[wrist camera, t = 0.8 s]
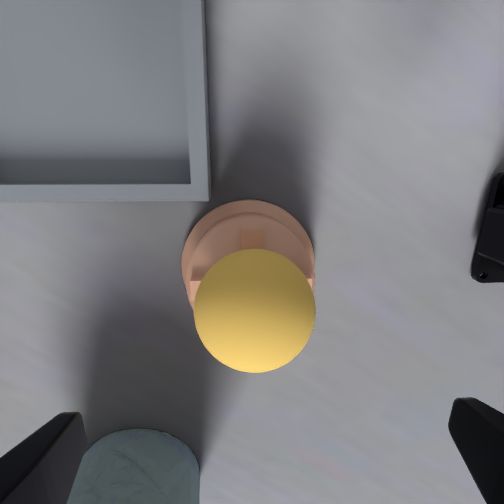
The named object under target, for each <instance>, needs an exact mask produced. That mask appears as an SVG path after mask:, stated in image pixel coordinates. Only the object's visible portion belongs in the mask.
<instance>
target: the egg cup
mask: <svg viewBox="0 0 504 504" xmlns="http://www.w3.org/2000/svg"><path fill="white" fill-rule="evenodd" d="M245 249H264V250H269V251H273V252H276V253H278V254H280V255H282V256H284V257H286V258H287V259H289V260H290V261H292V262H293V263H294V264H295V265H296V266H297V267H298V268H299V269H300V270H301V271H302V272H303V274H304V275H305V277H306V278H307V280H308V282H309V284H310V286H311V289H312V292H314V285H315V273H314V252H313V247H312V244H311V241H310V239H309V237H308V235H307V233H306V231H305V230H304V228H303V227H302V226H301V224H300V223H299V222H298V221H297V220H296V219H295V218H294V217H293V216H292V215H291V214H290V213H288V212H287V211H285V210H284V209H282V208H280V207H278V206H276V205H274V204H271V203H268V202H265V201H260V200H250V199H246V200H237V201H232V202H228V203H226V204H223V205H220V206H218V207H217V208H215V209H213V210H211V211H210V212H209V213H207V214H206V215H205V216H204V217H203V218H201V219H200V220H199V222H198V223H197V224H196V225H195V226H194V228H193V230H192V231H191V233H190V234H189V236H188V238H187V241H186V243H185V246H184V249H183V253H182V260H181V270H182V277H183V280H184V284H185V287H186V290H187V295H188V299H189V302H190V304H191V306H192V309H193V310H194V301H195V295H196V292H197V289H198V287H199V285H200V282H201V280H202V278H203V277H204V275H205V274H206V273H207V271H208V270H209V269H210V268H211V267H212V266H213V265H214V264H215V263H216V262H218V261H219V260H220V259H222V258H223V257H225V256H227V255H229V254H231V253H234V252H237V251H240V250H245Z"/></svg>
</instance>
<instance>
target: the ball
mask: <svg viewBox="0 0 504 504" xmlns="http://www.w3.org/2000/svg"><path fill="white" fill-rule="evenodd" d="M194 319H195V325H196V329H197V332H198V334H199V337H200V339H201V341H202V343H203V344H204V346H205V347H206V349H207V350H208V351H209V352H210V353H211V354H212V355H213V356H214V357H215V358H216V359H217V360H218V361H220V362H221V363H223V364H225V365H227V366H229V367H231V368H233V369H236V370H239V371H243V372H250V373H259V372H266V371H271V370H274V369H277V368H279V367H281V366H283V365H285V364H287V363H288V362H289V361H291V360H292V359H293V358H294V357H295V356H297V355H298V354H299V353H300V351H301V350H302V349H303V348H304V346H305V345H306V343H307V342H308V340H309V337H310V335H311V333H312V330H313V327H314V321H315V300H314V295H313V292H312V289H311V286H310V284H309V282H308V280H307V278H306V277H305V275H304V274H303V272H302V271H301V270H300V269H299V268H298V267H297V266H296V265H295V264H294V263H293V262H292V261H290V260H289V259H287V258H286V257H284V256H282V255H280V254H278V253H276V252H273V251H269V250H264V249H245V250H240V251H237V252H234V253H231V254H229V255H227V256H225V257H223V258H222V259H220V260H219V261H218V262H216V263H215V264H214V265H213V266H212V267H211V268H210V269H209V270H208V271H207V273H206V274H205V275H204V277H203V278H202V280H201V282H200V285H199V287H198V289H197V292H196V295H195V301H194Z"/></svg>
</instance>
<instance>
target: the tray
mask: <svg viewBox="0 0 504 504" xmlns="http://www.w3.org/2000/svg"><path fill="white" fill-rule="evenodd" d="M211 196H212V192H211V165H210V137H209V110H208V82H207V55H206V27H205V0H0V202H166V201H209V200H210V198H211Z"/></svg>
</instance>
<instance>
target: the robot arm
mask: <svg viewBox="0 0 504 504" xmlns="http://www.w3.org/2000/svg"><path fill="white" fill-rule="evenodd" d="M503 180H504V172H503V173H499V174H497V175H496V176H495V177H494V179H493V182H492V186H491V190H490V195H489V199H488V203H487V208H486V212H485V216H484V220H483V225H482V229H481V233H480V238H479V242H478V246H477V251H476V255H475V259H474V264H473V268H472V272H471V276H472V278H473V279H474V280H476V281H478V282H481V283H495V282H504V184H503ZM482 272H483V274H482V275H481V276H480V274H481V273H482ZM448 427H449V432H450V434H451V437H452V439H453V440H454V442H455V444H456V446H457V448H458V450H459V452H460V454H461V456H462V458H463V460H464V462H465V464H466V465H467V467H468V469H469V471H470V473H471V475H472V477H473V479H474V481H475V483H476V485H477V487H478V489H479V490H480V492H481V494H482V496H483V498H484V500H485V501H486V503H487V504H504V414H503V413H501V412H499V411H497V410H496V409H494V408H492V407H490V406H488V405H487V404H485V403H483V402H481V401H479V400H478V399H476V398H471V397H467V398H456V399H455V400H454V402H453V406H452V410H451V414H450V418H449V423H448ZM85 448H86V434H85V429H84V424H83V419H82V415H81V414H80V413H79V412H63V413H60V414H58V415H57V416H55V417H54V418H53V419H51V420H50V421H49V422H47V423H46V424H45V425H43V426H42V427H41V428H39V429H38V430H37V431H35V432H34V433H33V434H31V435H30V436H29V437H27V438H26V439H25V440H23V441H22V442H21V443H19V444H18V445H17V446H15V447H14V448H13V449H11V450H10V451H9V452H7V453H6V454H5V455H3V456H2V457H1V458H0V504H67V501H68V498H69V495H70V492H71V489H72V487H73V484H74V481H75V478H76V475H77V472H78V469H79V466H80V463H81V461H82V458H83V455H84V452H85Z"/></svg>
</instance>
